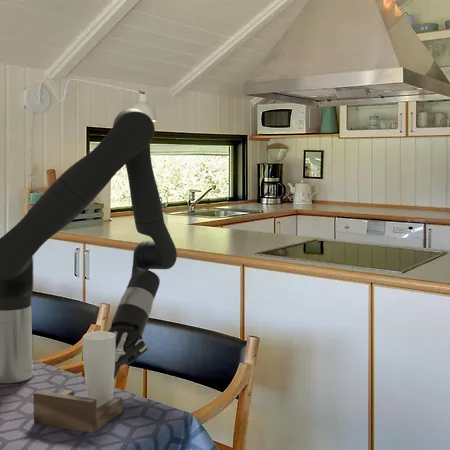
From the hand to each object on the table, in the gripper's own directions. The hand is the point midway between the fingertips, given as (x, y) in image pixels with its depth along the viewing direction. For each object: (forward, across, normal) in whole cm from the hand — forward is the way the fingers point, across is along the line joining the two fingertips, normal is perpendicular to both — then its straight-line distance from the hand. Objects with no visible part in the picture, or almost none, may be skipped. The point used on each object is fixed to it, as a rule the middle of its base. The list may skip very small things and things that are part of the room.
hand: (107, 379), depth 131 cm
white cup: (+6, 0, +1) cm, 6 cm away
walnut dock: (+10, 0, -4) cm, 11 cm away
